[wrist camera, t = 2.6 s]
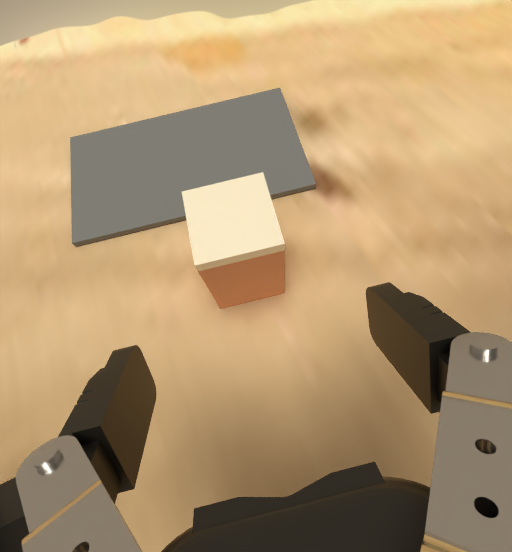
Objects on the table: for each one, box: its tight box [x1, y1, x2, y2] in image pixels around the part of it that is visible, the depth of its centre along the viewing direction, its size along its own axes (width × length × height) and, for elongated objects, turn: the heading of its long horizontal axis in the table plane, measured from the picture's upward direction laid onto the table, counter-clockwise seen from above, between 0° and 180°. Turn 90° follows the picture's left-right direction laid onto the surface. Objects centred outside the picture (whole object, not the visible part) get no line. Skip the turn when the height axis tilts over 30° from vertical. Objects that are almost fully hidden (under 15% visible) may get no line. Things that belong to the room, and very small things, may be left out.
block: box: [182, 172, 285, 309], centre depth 23 cm, size 5×5×8 cm
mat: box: [70, 88, 316, 246], centre depth 31 cm, size 21×12×1 cm, turn 103°
